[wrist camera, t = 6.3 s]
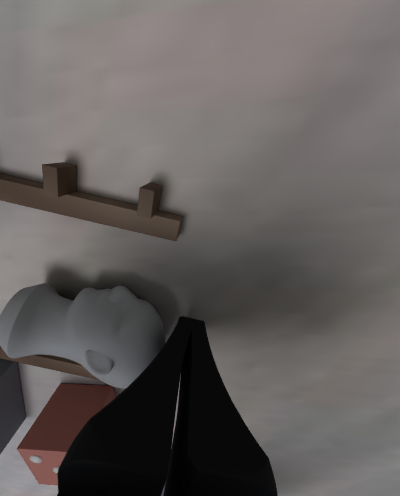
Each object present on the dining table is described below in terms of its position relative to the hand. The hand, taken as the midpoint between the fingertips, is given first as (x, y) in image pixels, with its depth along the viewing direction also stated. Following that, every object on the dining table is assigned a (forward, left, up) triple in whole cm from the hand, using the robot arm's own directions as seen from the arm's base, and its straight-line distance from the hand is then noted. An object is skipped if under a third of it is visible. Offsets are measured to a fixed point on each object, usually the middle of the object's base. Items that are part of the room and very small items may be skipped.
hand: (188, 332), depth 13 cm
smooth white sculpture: (-1, +5, -2) cm, 5 cm away
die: (-10, +6, -1) cm, 12 cm away
